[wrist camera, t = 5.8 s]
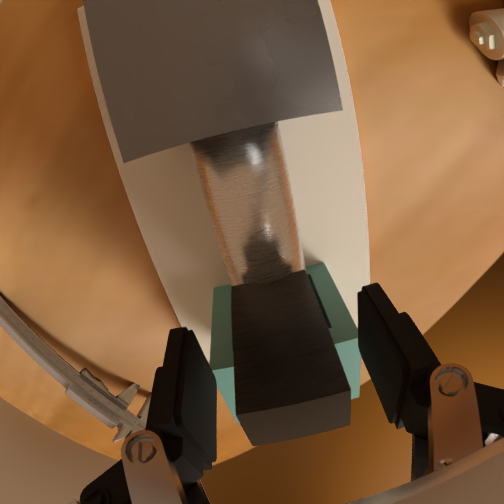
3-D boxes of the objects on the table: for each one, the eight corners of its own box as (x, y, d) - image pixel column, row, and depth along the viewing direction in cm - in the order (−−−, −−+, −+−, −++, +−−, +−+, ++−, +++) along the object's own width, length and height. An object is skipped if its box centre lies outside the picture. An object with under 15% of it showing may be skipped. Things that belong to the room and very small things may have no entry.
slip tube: (259, 67, 11) (318, 10, 3) (310, 326, 18) (352, 465, 10) (180, 86, 12) (88, 69, 3) (253, 338, 18) (269, 483, 10)
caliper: (158, 392, 24) (149, 454, 19) (152, 397, 24) (142, 457, 19) (-36, 253, 17) (-80, 297, 11) (-37, 262, 17) (-80, 306, 11)
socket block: (323, 262, 17) (361, 336, 12) (330, 322, 20) (359, 396, 14) (213, 287, 18) (209, 370, 12) (234, 343, 20) (237, 423, 14)
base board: (308, -44, 10) (313, -51, 9) (364, 315, 21) (369, 323, 20) (84, 12, 11) (77, 8, 10) (200, 352, 21) (199, 362, 21)
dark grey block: (264, -25, 10) (286, -87, 5) (297, 104, 13) (343, 110, 8) (132, 8, 10) (77, -34, 5) (164, 136, 14) (123, 163, 8)
